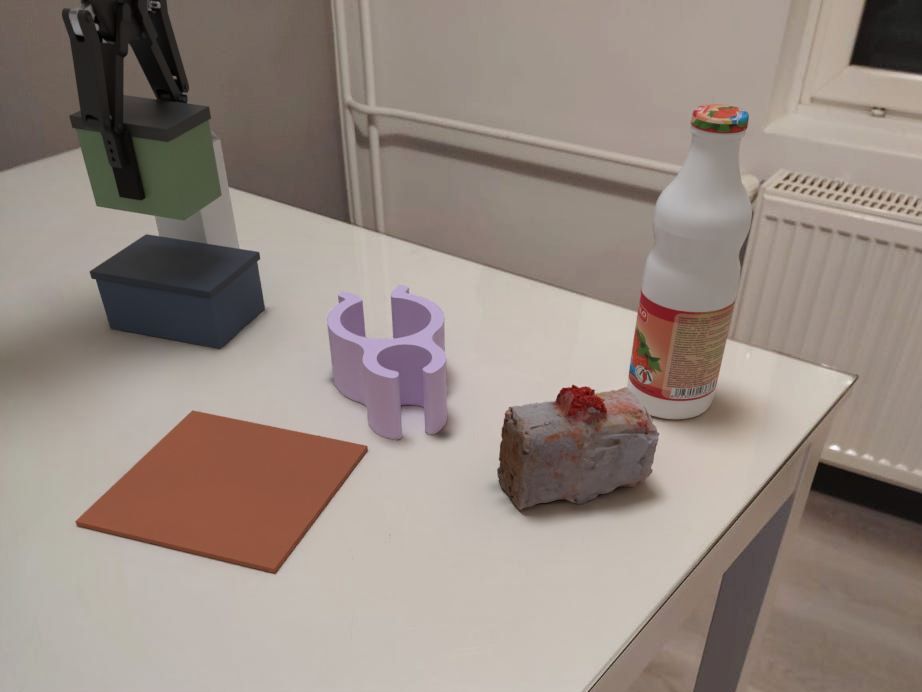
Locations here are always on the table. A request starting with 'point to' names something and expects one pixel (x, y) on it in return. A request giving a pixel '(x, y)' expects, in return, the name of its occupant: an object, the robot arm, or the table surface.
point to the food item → (575, 446)
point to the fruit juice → (692, 271)
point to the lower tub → (181, 290)
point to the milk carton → (207, 215)
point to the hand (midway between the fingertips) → (156, 183)
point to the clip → (391, 361)
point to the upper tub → (157, 158)
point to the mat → (226, 490)
